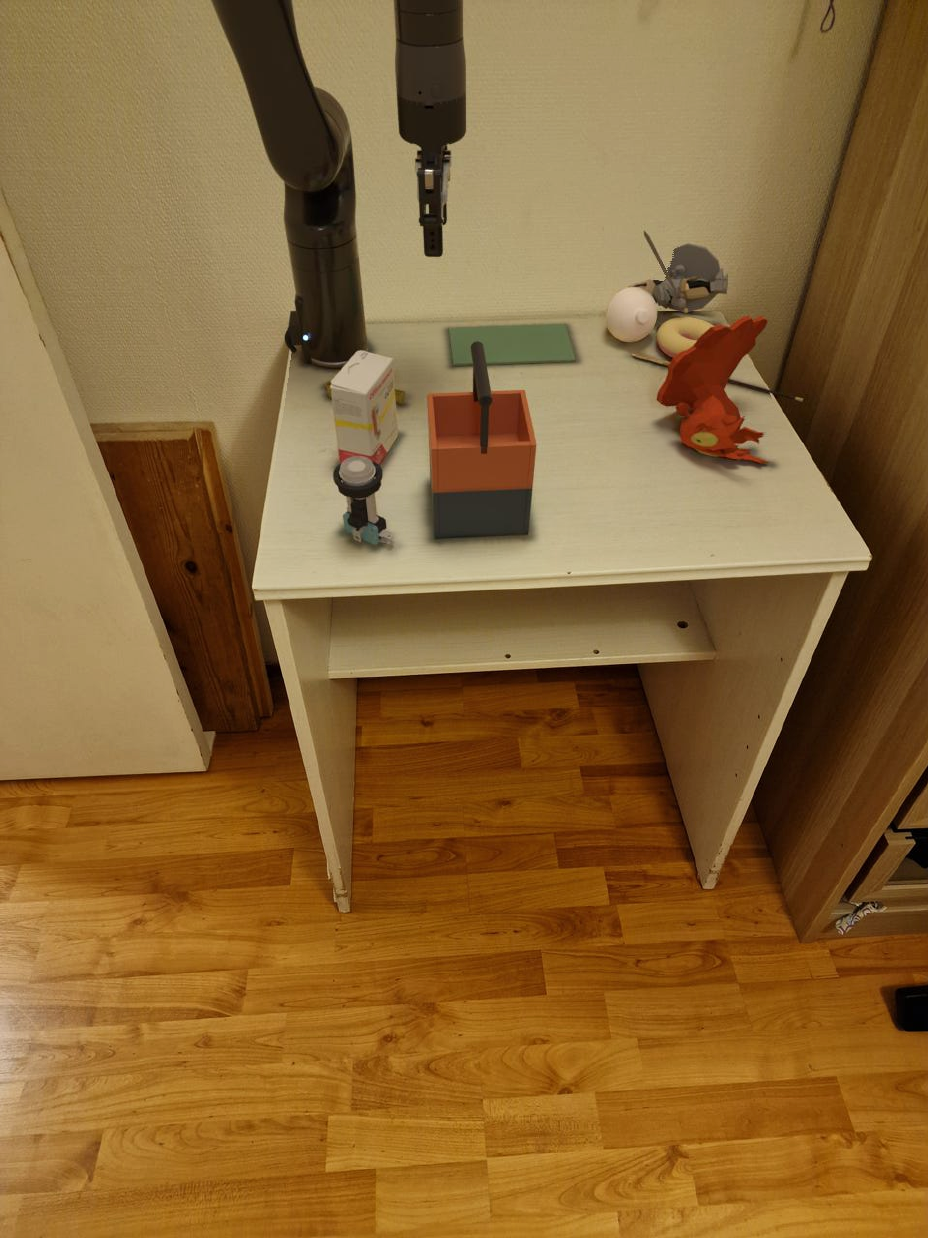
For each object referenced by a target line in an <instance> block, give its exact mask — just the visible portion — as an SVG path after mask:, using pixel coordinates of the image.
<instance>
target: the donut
mask: <svg viewBox="0 0 928 1238" xmlns="http://www.w3.org/2000/svg"><path fill="white" fill-rule="evenodd" d="M713 326H715V325H713V323H711V322H708V321H707V320H704V319H701V318H697V317H689V316H678V317H677V316H676V317H673V318H669V319H667V320H666V321H664V322H663V323H662V324H661V325H660V327H659V328H658V330H657V332H656V342H657V344H658V347H659V348H660V350H661V351H662V352H663V353H664V354H665V355H667V356H668V357H670V358H672V359H673V358H674V357H675V356H676V355H678V354H679V353H680V352H682V351H686V350H688V349H689V348H691V347H692V346H693V345H694V344H695V343H696V342H697V340H698V339H699V338H700V337H701V335H702V334H704V333H705V332H706V331H707V330H708V329H709V328H711V327H713Z"/></svg>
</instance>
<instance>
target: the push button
mask: <svg viewBox="0 0 928 1238" xmlns="http://www.w3.org/2000/svg"><path fill="white" fill-rule="evenodd" d="M383 473H384V472H383V469H382V466H381V464H380V465H379V464H377V463H376V462H374V461H372V460H370V459H368V458H367V457H363V456H353V457H350V458H347V459H346V460H344V461H343V462H342V463H341V464H340V463H339V464H338V465H337V466H336V467H335V468H334V470H333V473H332V478H333V483H334V484H335V485H336V486H337V489H338V492H339V493H340V495H342V496H344V497H346V505H347V506H346V512H345V513H343V515H342V519H343V528H344V531H345V532H346V533H348V534H350V535H352V537H353V540H354V541H356V542H359V543H361V542H362V540H363V541H365V542H367V543H369V544H371V545H373V546H377V545H378V544H379V543H382V544H386V545H388V546H392V545H393V544H394V543H395V540H394V539H393V538H394V537H395V534H392V533H390V532H388V530H387V520H386V518H384V517H382V516H380V515H378V512H377V510H378V509H377V501H376V493H377V492H378V491H380V489H381V486H382V480H383V476H384V475H383Z"/></svg>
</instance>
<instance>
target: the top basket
mask: <svg viewBox="0 0 928 1238" xmlns="http://www.w3.org/2000/svg"><path fill="white" fill-rule="evenodd" d="M471 354H472V361H473V365H472V391H461V392H460V391H458V392H433V393H431V392H430V393H427V394H426V395H427V397H426V399H427V423H428V427H427V428H428V447H429V446H430V456H429V461H430V460H431V473H432V487H433V493H443V492H465V491H488V490H510V489H532V490H533V488H534V479H535V478H534V475H535V466H536V454H537V440H536V436H535V431H534V427H533V426H534V425H533V421H532V416H531V412H530V408H529V402H528V398H527V393H526V389H511V390H509V389H508V390H507V389H506V390H492V389H491V388H492V387H491V381H490V376H489V370H488V365H487V364H486V358H485V352H484V346H483V344H482V343H481V342H479V341H476V342H473V343H472V345H471Z"/></svg>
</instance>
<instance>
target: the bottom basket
mask: <svg viewBox="0 0 928 1238" xmlns="http://www.w3.org/2000/svg"><path fill="white" fill-rule="evenodd" d="M428 451H429V454H428V455H429V457H430V446H429V445H428ZM429 480H430V481H429V482H430V483H429V484H430V495H431V511H432V523H433V538H434V540H449V539H470V538H490V537H491V538H492V537H511V536H512V537H513V536H529V533H530V522H531V511H532V510H531V509H532V498H533V488H532V489H510V490H488V491H465V492H443V493H433V487H432V473H431V460H430V459H429Z"/></svg>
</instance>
